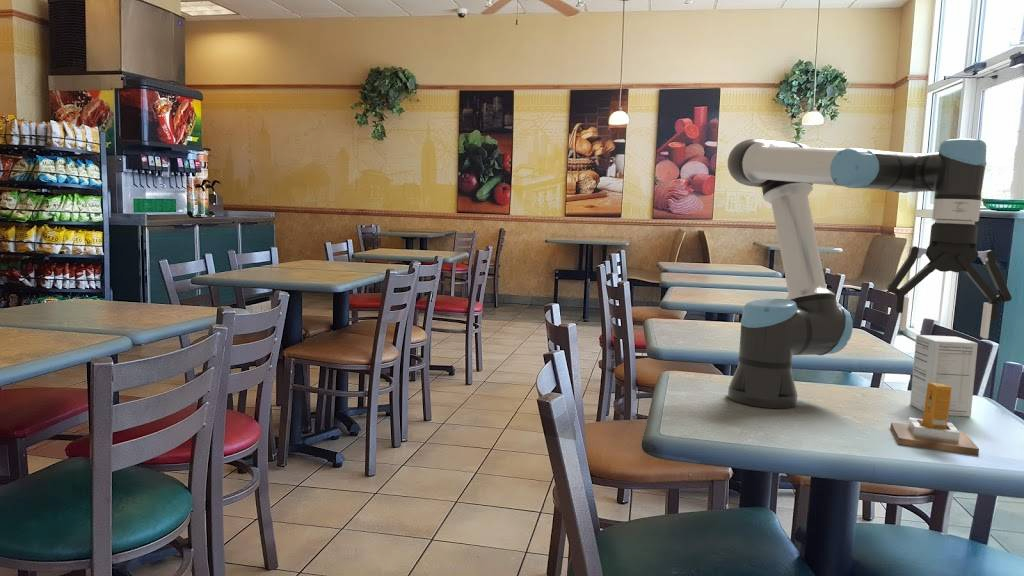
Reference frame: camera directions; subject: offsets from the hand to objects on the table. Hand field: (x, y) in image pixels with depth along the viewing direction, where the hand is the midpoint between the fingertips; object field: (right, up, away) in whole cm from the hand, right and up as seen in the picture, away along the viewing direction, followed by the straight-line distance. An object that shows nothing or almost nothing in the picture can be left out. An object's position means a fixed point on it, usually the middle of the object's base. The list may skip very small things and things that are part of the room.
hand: (942, 333), depth 135 cm
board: (-1, -21, +2) cm, 21 cm away
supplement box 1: (+15, -20, +27) cm, 36 cm away
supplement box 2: (-1, -20, +2) cm, 20 cm away
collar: (-1, -20, +2) cm, 20 cm away
